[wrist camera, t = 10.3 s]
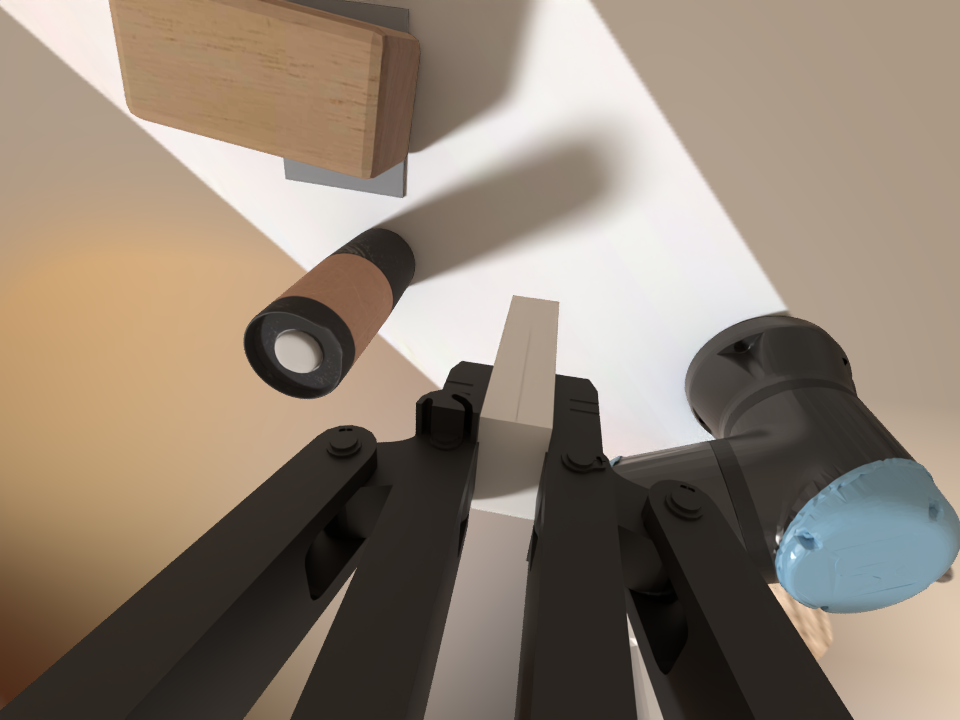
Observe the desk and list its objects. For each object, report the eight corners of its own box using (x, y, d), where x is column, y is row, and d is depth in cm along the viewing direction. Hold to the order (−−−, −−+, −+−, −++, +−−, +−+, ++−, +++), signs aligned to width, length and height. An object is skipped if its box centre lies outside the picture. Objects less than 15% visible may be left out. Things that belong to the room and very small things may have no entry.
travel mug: (342, 278, 52) (237, 378, 35) (356, 213, 48) (245, 292, 31) (407, 304, 53) (333, 415, 36) (426, 242, 49) (353, 335, 32)
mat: (408, 9, 38) (407, 9, 38) (403, 197, 46) (402, 197, 46) (268, -10, 39) (266, -10, 39) (287, 178, 47) (285, 179, 47)
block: (425, 37, 39) (193, -25, 39) (387, 30, 31) (92, -49, 31) (409, 163, 44) (205, 108, 45) (372, 185, 36) (122, 117, 36)
